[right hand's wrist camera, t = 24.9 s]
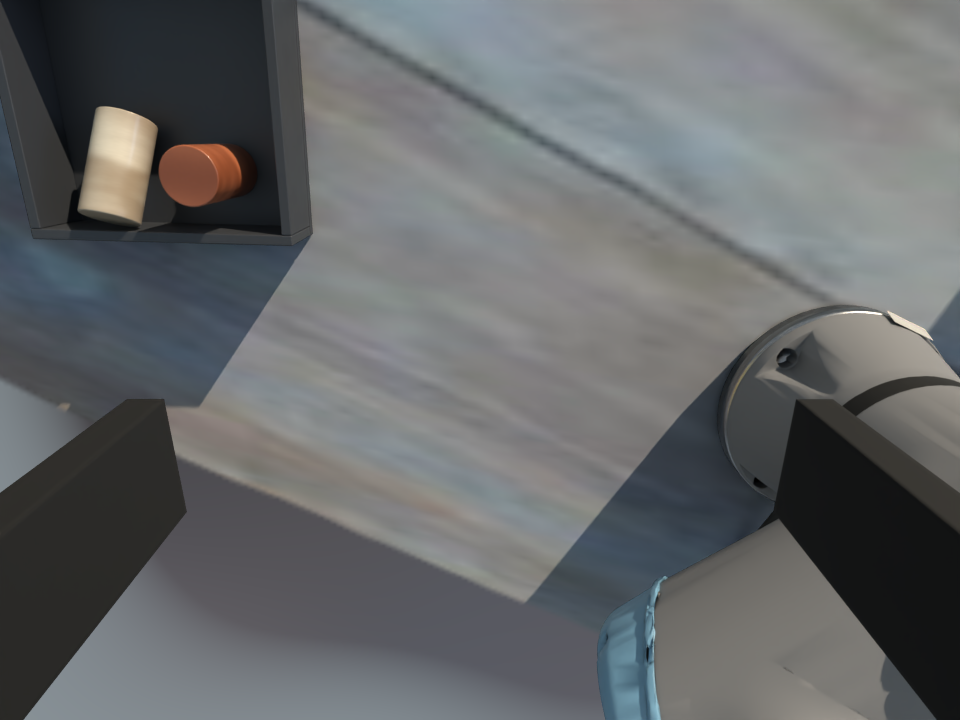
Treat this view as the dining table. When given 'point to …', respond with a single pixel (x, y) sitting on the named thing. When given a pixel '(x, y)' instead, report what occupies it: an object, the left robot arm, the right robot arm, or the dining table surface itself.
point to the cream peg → (118, 167)
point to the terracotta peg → (206, 173)
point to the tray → (158, 109)
